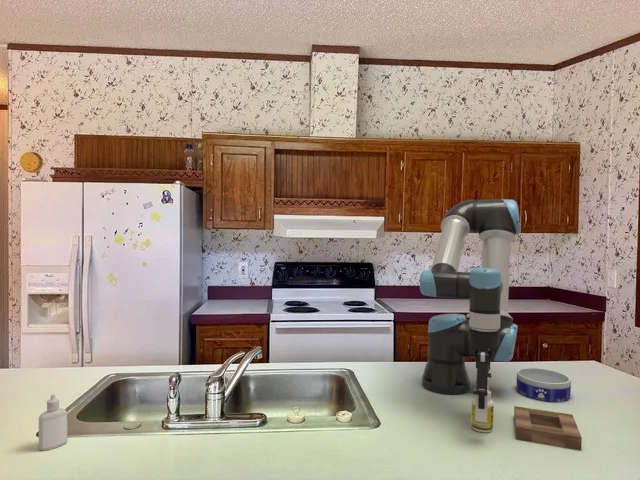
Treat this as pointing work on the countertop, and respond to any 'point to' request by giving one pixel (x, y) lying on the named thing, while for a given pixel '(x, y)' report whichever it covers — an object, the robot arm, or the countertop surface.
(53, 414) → the eye dropper bottle
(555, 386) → the dog bowl
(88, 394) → the countertop surface
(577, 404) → the countertop surface
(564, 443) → the walnut socket block
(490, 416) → the supplement bottle
